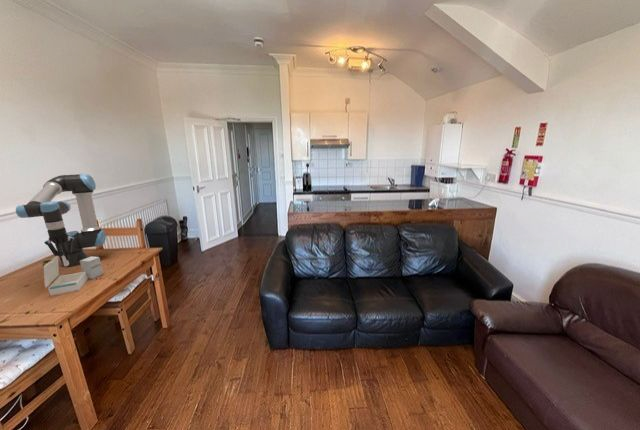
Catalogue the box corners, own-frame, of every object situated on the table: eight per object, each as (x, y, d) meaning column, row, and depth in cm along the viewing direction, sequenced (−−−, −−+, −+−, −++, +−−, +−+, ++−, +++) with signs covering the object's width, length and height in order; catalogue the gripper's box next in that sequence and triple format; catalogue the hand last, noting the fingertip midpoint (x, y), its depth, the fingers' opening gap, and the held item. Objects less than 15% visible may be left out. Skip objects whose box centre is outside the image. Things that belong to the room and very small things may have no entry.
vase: (63, 279, 171) (57, 259, 168) (51, 284, 166) (44, 263, 162) (57, 278, 173) (51, 258, 169) (45, 283, 168) (38, 262, 164)
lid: (62, 274, 166) (57, 274, 165) (61, 255, 164) (56, 255, 163) (49, 287, 151) (44, 287, 150) (48, 266, 149) (43, 266, 148)
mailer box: (61, 283, 167) (59, 276, 165) (87, 278, 172) (85, 271, 171) (50, 296, 153) (48, 287, 151) (79, 290, 158) (77, 282, 157)
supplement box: (92, 279, 172) (88, 261, 168) (83, 278, 173) (78, 260, 170) (103, 273, 179) (99, 256, 175) (95, 273, 180) (90, 256, 177)
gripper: (37, 231, 147) (49, 270, 153) (68, 228, 153) (78, 265, 159) (43, 228, 154) (55, 265, 160) (72, 224, 159) (82, 260, 165)
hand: (66, 265), depth 159 cm, fingers closed
